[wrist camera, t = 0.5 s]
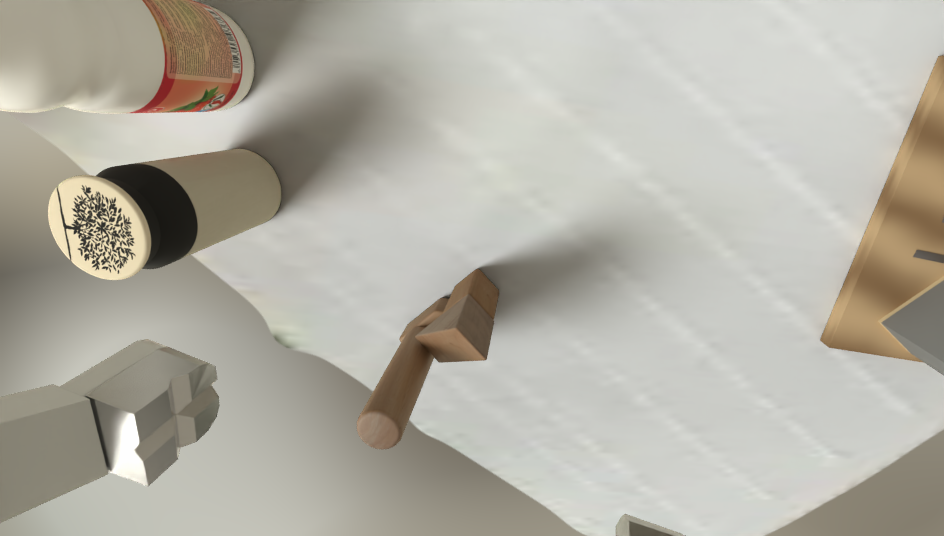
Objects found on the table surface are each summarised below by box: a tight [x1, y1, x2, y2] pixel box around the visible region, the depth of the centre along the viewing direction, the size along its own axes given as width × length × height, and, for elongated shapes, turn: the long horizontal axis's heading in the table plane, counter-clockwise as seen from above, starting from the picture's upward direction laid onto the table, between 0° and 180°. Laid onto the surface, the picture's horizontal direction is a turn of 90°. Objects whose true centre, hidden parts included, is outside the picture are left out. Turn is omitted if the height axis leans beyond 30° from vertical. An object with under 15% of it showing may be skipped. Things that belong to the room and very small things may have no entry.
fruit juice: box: [0, 0, 254, 114], centre depth 32 cm, size 9×9×28 cm
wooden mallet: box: [357, 269, 499, 449], centre depth 42 cm, size 4×11×18 cm, turn 132°
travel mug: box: [48, 149, 281, 280], centre depth 41 cm, size 8×8×18 cm
